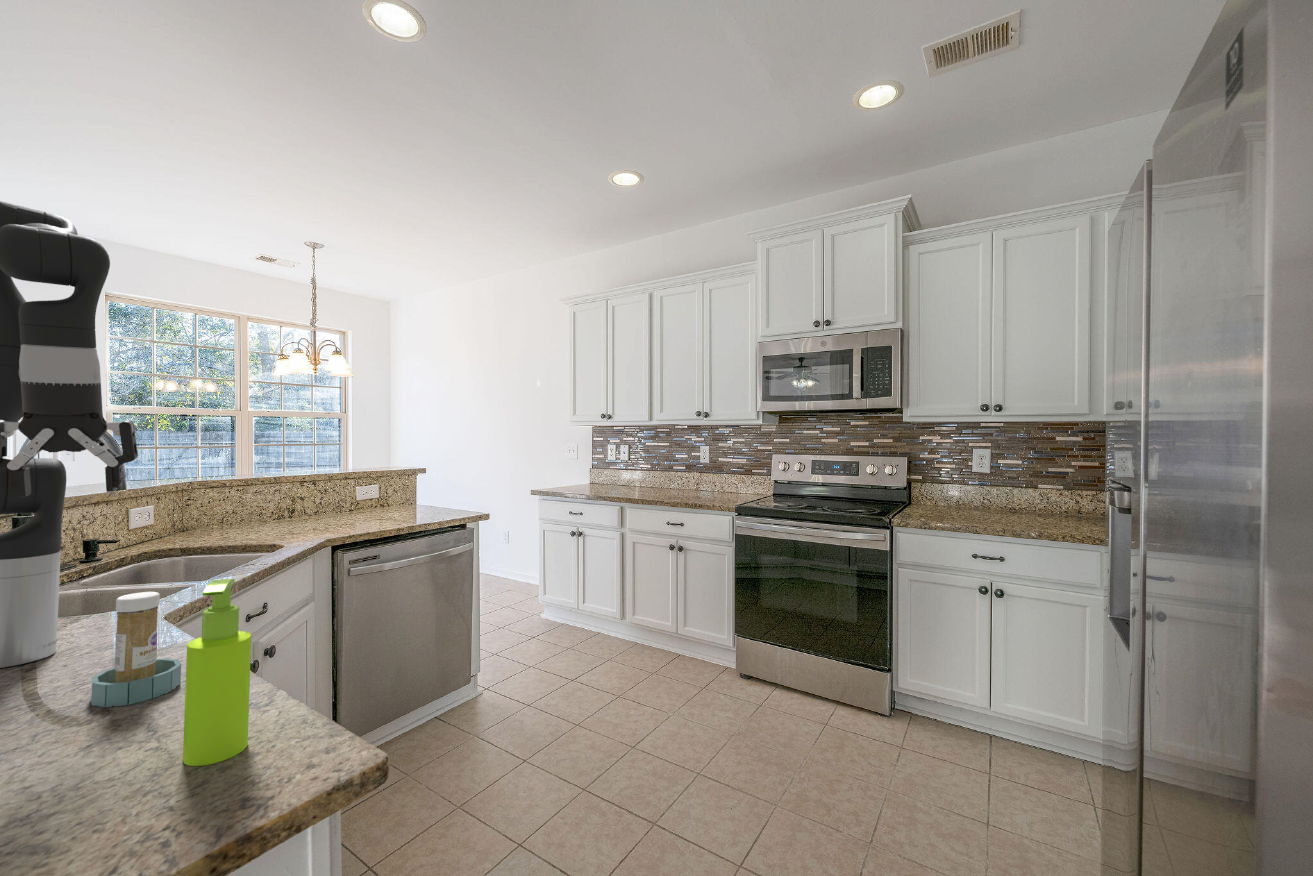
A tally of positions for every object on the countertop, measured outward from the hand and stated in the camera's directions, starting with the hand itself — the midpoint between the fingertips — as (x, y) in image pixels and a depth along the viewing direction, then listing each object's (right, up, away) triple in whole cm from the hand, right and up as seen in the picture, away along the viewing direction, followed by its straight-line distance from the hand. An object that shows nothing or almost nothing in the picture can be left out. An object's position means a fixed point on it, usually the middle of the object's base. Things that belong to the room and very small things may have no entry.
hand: (69, 493), depth 76 cm
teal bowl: (+9, -29, +1) cm, 30 cm away
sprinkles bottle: (+9, -29, +1) cm, 30 cm away
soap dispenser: (+33, -29, -14) cm, 46 cm away
